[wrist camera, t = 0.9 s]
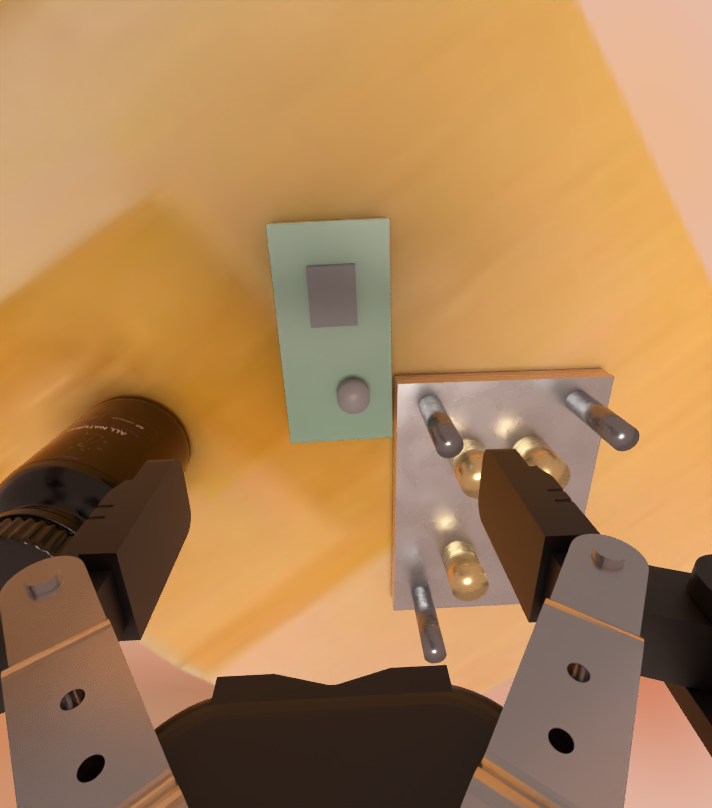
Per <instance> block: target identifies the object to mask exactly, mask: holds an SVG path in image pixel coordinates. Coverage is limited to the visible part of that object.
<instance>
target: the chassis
mask: <svg viewBox="0 0 712 808" xmlns="http://www.w3.org/2000/svg"><path fill="white" fill-rule="evenodd" d="M613 380H614V376H613V375H611V374H609V373H608V372H606V371H604V370H603V369H601V368H595V369H567V370H538V371H510V372H482V373H454V374H425V375H397V376H394V444H393V518H392V591H391V595H392V602H393V608H394V610H413V609H415V613H416V618H417V623H418V628H419V633H420V638H421V643H422V648H423V653H424V658H425V660H426V661H427V662H430V663H439V662H441V661H443V660H444V659H445V657H446V650H445V646H444V642H443V638H442V635H441V631H440V627H439V623H438V619H437V615H436V611H435V608H451V607H469V606H488V605H507V604H520V602H519V600H518V598H517V596H516V594H515V592H514V590H513V588H512V585H511V583H510V581H509V579H508V577H507V575H506V573H505V571H504V569H503V566H502V564H501V562H500V560H499V558H498V556H497V554H496V552H495V550H494V547H493V545H492V543H491V541H490V539H489V537H488V535H487V533H486V530H485V528H484V526H483V524H482V522H481V519H480V515H479V508H478V496H479V487H480V478H481V470H482V461H483V455H484V452H485V450H487V449H509V448H514V449H516V450H517V451H518V452H519V454H520V455H521V456H522V458H523V459H524V460H525V461H526V463H527V464H528V465H529V466H537V467H539V468H540V469H542V470H544V471H545V472H547V473H548V474H550V475H551V476H553V477H554V478H555V480H556V481H557V482H558V483H559V484H560V486H561V487H562V488H563V491H565V492H566V493H567V494H568V495H569V497H570V498H571V501H572V502H574V503H575V504H576V505H577V506H578V508H579V509H580V510H581V511H582V513H583V514H585V509H586V505H587V500H588V496H589V491H590V486H591V482H592V477H593V473H594V468H595V463H596V459H597V454H598V449H599V445H600V440H601V437H602V438H603V439H604V440H605V441H606V442H608V443H609V444H610V445H611V446H612V447H613V448H615V449H616V450H618V451H626V450H629V449H631V448H632V447H634V446H635V445H636V444H637V442H638V440H639V432H638V430H637V429H636V428H634V427H633V426H631V425H630V424H629V423H627V422H626V421H625V420H623V419H622V418H621V417H619V416H618V415H616V414H615V413H614V412H612V411H611V410H610V409H608V403H609V399H610V394H611V389H612V385H613Z"/></svg>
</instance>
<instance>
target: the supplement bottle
mask: <svg viewBox="0 0 712 808" xmlns="http://www.w3.org/2000/svg"><path fill="white" fill-rule="evenodd" d="M167 459H178V460H179V461H180V462H181V464H182V468H183V473H184V472H185V469H186V467H187V464H188V460H189V445H188V441H187V438H186V435H185V433H184V431H183V429H182V428H181V426H180V425H179V423H178V422H177V421H176V420H175V419H174V418H173V417H172V416H171V415H170V414H169V413H168V412H167V411H165V410H164V409H162V408H160V407H159V406H157V405H155V404H153V403H150V402H147V401H144V400H140V399H134V398H118V399H112V400H108V401H106V402H103V403H101V404H99V405H97V406H96V407H94V408H92V409H91V410H90V411H89V412H87V413H86V414H85V415H83V416H82V417H81V418H80V419H78V420H77V421H76V422H75V423H73V424H72V425H71V426H70V427H68V428H67V429H66V430H65V431H63V432H62V433H61V434H60V435H58V436H57V437H56V438H55V439H53V440H52V441H51V442H50V443H48V444H47V445H46V446H45V447H43V448H42V449H41V450H40V451H39V452H37V453H36V454H35V455H34V456H32V457H31V458H30V459H29V460H27V461H26V462H25V463H24V464H22V465H21V466H20V467H19V468H17V469H16V470H15V471H14V472H12V473H11V474H10V475H9V476H8V477H7V478H6V479H5V480H4V481H3V482H2V483H1V484H0V591H1V590H2V588H3V586H4V585H5V584H6V583H7V581H8V580H10V579H11V578H12V577H13V576H14V575H15V574H17V573H18V572H19V571H21V570H23V569H24V568H26V567H28V566H30V565H32V564H34V563H36V562H38V561H41V560H44V559H47V558H51V557H57V556H58V555H59V554H60V552H61V551H62V550H63V549H64V547H65V546H66V545H67V544H68V542H69V541H70V540H71V538H72V537H73V536H74V535H75V533H76V532H77V531H78V530H79V528H80V527H81V526H82V525H83V523H84V522H85V521H86V520H88V519H89V516H90V514H91V513H92V512H93V511H94V509H95V508H98V504H99V503H100V502H101V501H102V499H103V498H104V497H105V495H106V494H107V493H108V492H109V491H110V490H112V489H113V488H115V487H116V486H118V485H119V484H121V483H122V482H124V481H125V480H133V478H134V477H135V476H136V474H137V473H138V472H139V470H140V469H141V468H142V466H143V465H144V464H145V462H146V461H148V460H167Z"/></svg>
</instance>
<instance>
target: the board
mask: <svg viewBox="0 0 712 808" xmlns="http://www.w3.org/2000/svg"><path fill="white" fill-rule="evenodd" d="M266 231H267V239H268V248H269V257H270V266H271V275H272V283H273V292H274V301H275V310H276V318H277V327H278V336H279V345H280V354H281V362H282V371H283V380H284V389H285V397H286V406H287V415H288V424H289V433H290V441H291V443H306V442H322V441H339V440H355V439H371V438H388V437H392V368H391V292H390V218H385V217H378V218H357V219H336V220H315V221H294V222H274V223H269V224H266Z"/></svg>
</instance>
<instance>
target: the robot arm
mask: <svg viewBox="0 0 712 808" xmlns="http://www.w3.org/2000/svg"><path fill="white" fill-rule="evenodd" d="M478 508H479V515H480V519H481V522H482V524H483V526H484V528H485V530H486V533H487V535H488V537H489V539H490V541H491V543H492V545H493V547H494V550H495V552H496V554H497V556H498V558H499V560H500V562H501V564H502V566H503V569H504V571H505V573H506V575H507V577H508V579H509V581H510V583H511V585H512V588H513V590H514V592H515V594H516V596H517V598H518V600H519V602H520V605H521V607H522V609H523V611H524V613H525V615H526V617H527V619H528V621H529V622H536V624H535V627H534V630H533V632H532V635H531V637H530V640H529V642H528V645H527V648H526V650H525V653H524V655H523V658H522V660H521V663H520V666H519V668H518V671H517V673H516V676H515V678H514V681H513V684H512V686H511V689H510V692H509V694H508V696H507V699H506V702H505V704H504V707H502V706H501V705H499V704H498V703H496V702H494V701H492V700H491V699H489V698H487V697H485V696H483V695H481V694H479V693H476V692H474V691H471V690H468V689H465V688H462V687H459V686H454V685H451V682H450V678H449V674H448V670H447V666H446V665H439V666H420V667H400V668H389V669H386V670H383V671H380V672H376V673H373V674H370V675H367V676H364V677H360V678H357V679H354V680H351V681H347V682H344V683H341V684H337V685H325V684H321V683H316V682H311V681H306V680H301V679H296V678H291V677H286V676H281V675H276V674H266V675H247V676H227V677H217V680H216V684H215V689H214V693H213V696H212V698H210V699H207V700H204V701H202V702H199V703H197V704H195V705H192V706H190V707H188V708H186V709H185V710H183V711H181V712H179V713H177V714H175V715H174V716H173V717H171V718H170V719H168V720H167V721H165V722H164V723H162V724H161V725H160V726H159V727H157V728H156V729H155V730H154V728H153V725H152V723H151V720H150V718H149V715H148V713H147V710H146V708H145V706H144V703H143V701H142V698H141V696H140V693H139V691H138V689H137V686H136V684H135V681H134V679H133V676H132V674H131V671H130V669H129V666H128V664H127V662H126V659H125V657H124V654H123V652H122V649H121V647H120V645H119V641H126V640H127V641H128V640H141V638H142V635H143V633H144V631H145V629H146V626H147V624H148V622H149V620H150V618H151V615H152V613H153V611H154V609H155V606H156V604H157V602H158V600H159V597H160V595H161V593H162V591H163V588H164V586H165V584H166V582H167V579H168V577H169V575H170V573H171V570H172V568H173V566H174V564H175V561H176V559H177V557H178V555H179V552H180V550H181V548H182V546H183V543H184V541H185V539H186V537H187V534H188V532H189V528H190V521H191V511H190V505H189V499H188V494H187V489H186V483H185V478H184V473H183V468H182V464H181V462H180V461H179V460H178V459H167V460H148V461H146V462H145V464H144V465H143V466H142V468H141V469H140V470H139V472H138V473H137V474H136V476H135V477H134V478H133V480H125V481H124V482H122V483H121V484H119V485H118V486H116V487H115V488H113V489H112V490H110V491H109V492H108V493H107V494H106V495H105V497H104V498H103V499H102V501H101V502H100V503H99V504H98V508H95V509H94V511H93V512H92V513H91V514H90V516H89V519H88V520H86V521H85V522H84V523H83V525H82V526H81V527H80V528H79V530H78V531H77V532H76V533H75V535H74V536H73V537H72V538H71V540H70V541H69V542H68V544H67V545H66V546H65V547H64V549H63V550H62V551H61V552H60V554H59V555H58V556H57V557H51V558H47V559H44V560H41V561H38V562H36V563H34V564H32V565H30V566H28V567H26V568H24V569H23V570H21V571H19V572H18V573H17V574H15V575H14V576H13V577H12V578H11V579H10V580H8V581H7V583H6V584H5V585H4V586H3V588H2V590H1V591H0V714H1V713H4V712H5V714H6V723H7V730H8V738H9V747H10V754H11V763H12V771H13V779H14V786H15V795H16V802H17V808H624V801H625V792H626V785H627V777H628V769H629V760H630V753H631V745H632V737H633V730H634V722H635V714H636V705H637V698H638V690H639V681H640V676H644V677H648V678H652V679H656V680H660V681H664V682H665V684H666V686H667V687H668V689H669V690H670V692H671V694H672V695H673V697H674V698H675V700H676V701H677V703H678V705H679V706H680V708H681V709H682V711H683V713H684V714H685V716H686V717H687V719H688V720H689V722H690V724H691V725H692V727H693V728H694V730H695V731H696V733H697V735H698V736H699V738H700V739H701V741H702V742H703V744H704V746H705V747H706V749H707V750H708V752H709V754H710V755H711V757H712V554H711V555H705V556H702V557H700V558H698V559H697V560H696V562H695V565H694V568H693V570H692V573H687V572H682V571H676V570H671V569H665V568H660V567H655V566H650V565H648V563H647V561H646V559H645V558H644V557H643V556H642V554H641V553H640V552H638V551H637V550H636V549H635V548H633V547H632V546H630V545H629V544H627V543H625V542H623V541H621V540H619V539H616V538H614V537H610V536H606V535H601V534H600V533H599V532H598V531H597V530H596V528H595V527H594V526H593V525H592V524H591V522H590V521H589V520H588V519H587V517H586V516H585V515H584V514H583V513H582V511H581V510H580V509H579V508H578V506H577V505H576V504H575V503H574V502H572V501H571V498H570V497H569V495H568V494H567V493H566V492H565V491H563V488H562V487H561V486H560V484H559V483H558V482H557V481H556V480H555V478H554V477H553V476H551V475H550V474H548V473H547V472H545V471H544V470H542V469H540V468H539V467H537V466H529V465H528V464H527V463H526V461H525V460H524V459H523V458H522V456H521V455H520V454H519V452H518V451H517V450H516V449H514V448H509V449H487V450H485V452H484V455H483V461H482V470H481V478H480V487H479V496H478Z"/></svg>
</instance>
